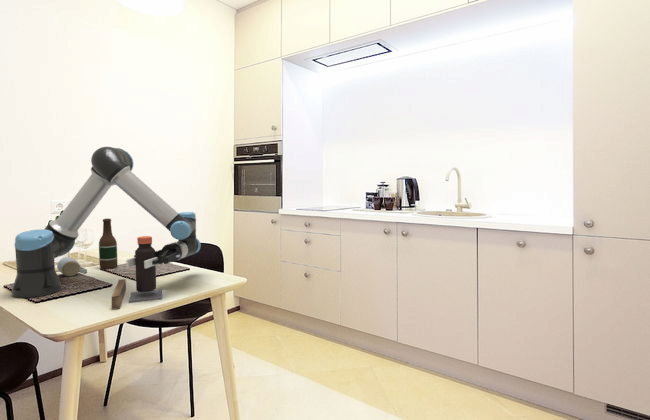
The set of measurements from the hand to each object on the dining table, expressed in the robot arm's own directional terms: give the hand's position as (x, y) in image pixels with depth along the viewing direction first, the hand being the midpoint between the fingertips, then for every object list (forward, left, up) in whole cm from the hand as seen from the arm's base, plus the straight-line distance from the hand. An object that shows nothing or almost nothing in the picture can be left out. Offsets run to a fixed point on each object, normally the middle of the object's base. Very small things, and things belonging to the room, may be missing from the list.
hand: (136, 264), depth 137 cm
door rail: (-6, +4, -14) cm, 16 cm away
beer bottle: (-16, +58, -14) cm, 62 cm away
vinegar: (+3, +4, -11) cm, 12 cm away
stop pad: (+3, +4, -14) cm, 14 cm away
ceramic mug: (-29, +49, -14) cm, 59 cm away
